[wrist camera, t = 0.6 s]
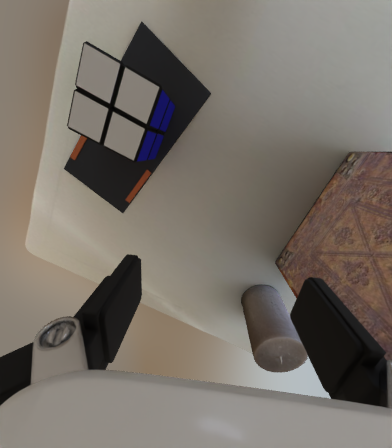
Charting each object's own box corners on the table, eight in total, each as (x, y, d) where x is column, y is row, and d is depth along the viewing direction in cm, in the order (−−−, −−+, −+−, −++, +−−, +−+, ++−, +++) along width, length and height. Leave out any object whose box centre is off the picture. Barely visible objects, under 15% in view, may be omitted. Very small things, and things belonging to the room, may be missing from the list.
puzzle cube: (154, 160, 34) (135, 164, 25) (104, 134, 33) (64, 127, 24) (176, 104, 31) (163, 85, 22) (121, 73, 30) (81, 37, 20)
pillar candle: (238, 312, 48) (251, 378, 34) (244, 282, 44) (260, 342, 30) (276, 315, 47) (304, 383, 34) (284, 285, 44) (320, 348, 30)
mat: (142, 23, 27) (141, 20, 27) (210, 93, 30) (210, 92, 30) (65, 168, 36) (62, 168, 36) (123, 212, 39) (122, 213, 39)
